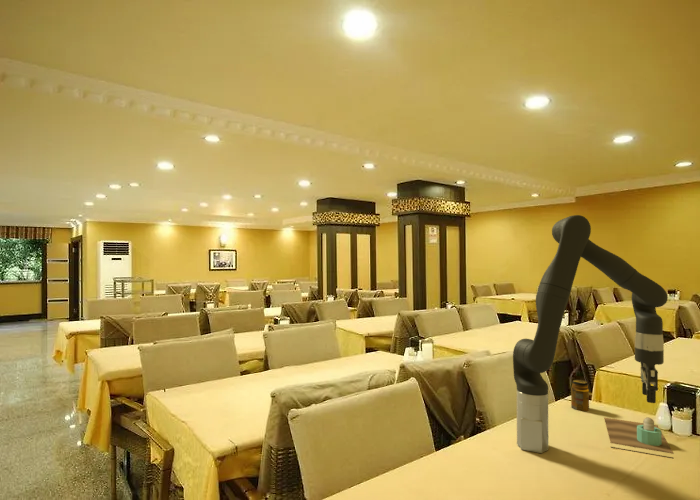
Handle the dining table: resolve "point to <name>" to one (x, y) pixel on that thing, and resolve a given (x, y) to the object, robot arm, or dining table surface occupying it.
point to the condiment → (580, 395)
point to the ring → (649, 436)
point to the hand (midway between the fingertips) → (648, 398)
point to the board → (633, 435)
